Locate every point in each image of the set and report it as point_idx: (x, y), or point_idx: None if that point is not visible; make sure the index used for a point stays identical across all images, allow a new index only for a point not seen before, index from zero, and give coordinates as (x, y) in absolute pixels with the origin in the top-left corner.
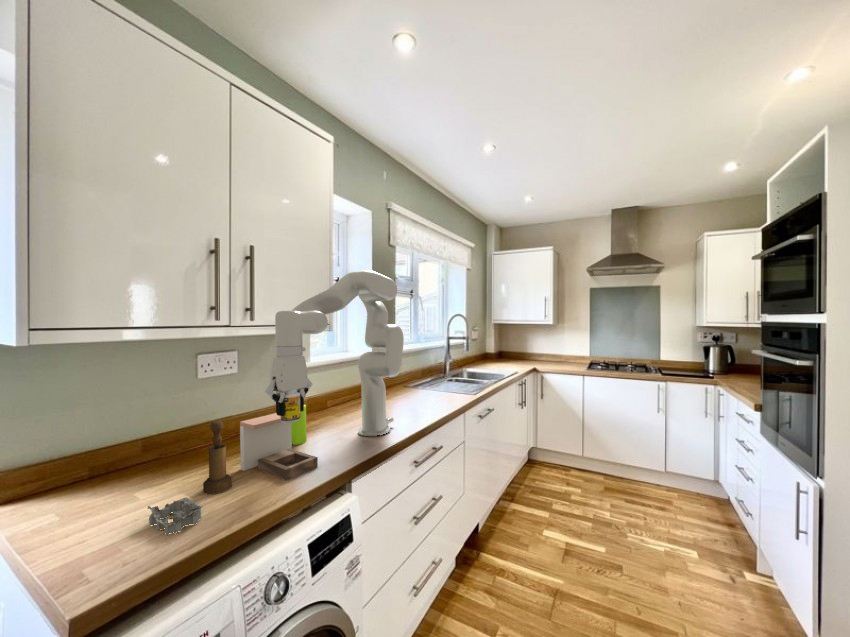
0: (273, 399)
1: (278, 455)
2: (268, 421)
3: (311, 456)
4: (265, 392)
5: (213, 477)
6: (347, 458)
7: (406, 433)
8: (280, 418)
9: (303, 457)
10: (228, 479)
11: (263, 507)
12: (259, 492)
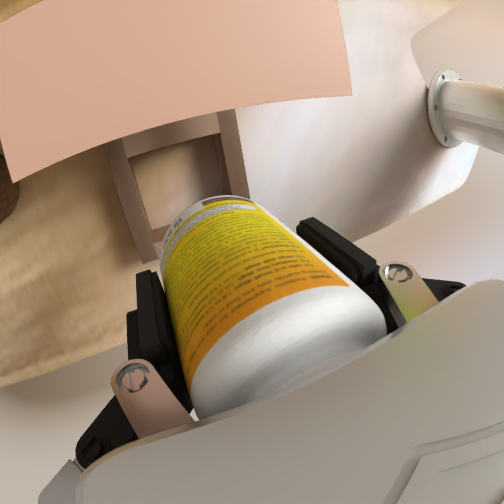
0: (108, 415)
1: None
2: (107, 139)
3: None
4: (44, 502)
5: None
6: (326, 212)
7: (460, 176)
8: (161, 255)
9: (228, 181)
10: (3, 214)
11: (80, 339)
12: (73, 274)
